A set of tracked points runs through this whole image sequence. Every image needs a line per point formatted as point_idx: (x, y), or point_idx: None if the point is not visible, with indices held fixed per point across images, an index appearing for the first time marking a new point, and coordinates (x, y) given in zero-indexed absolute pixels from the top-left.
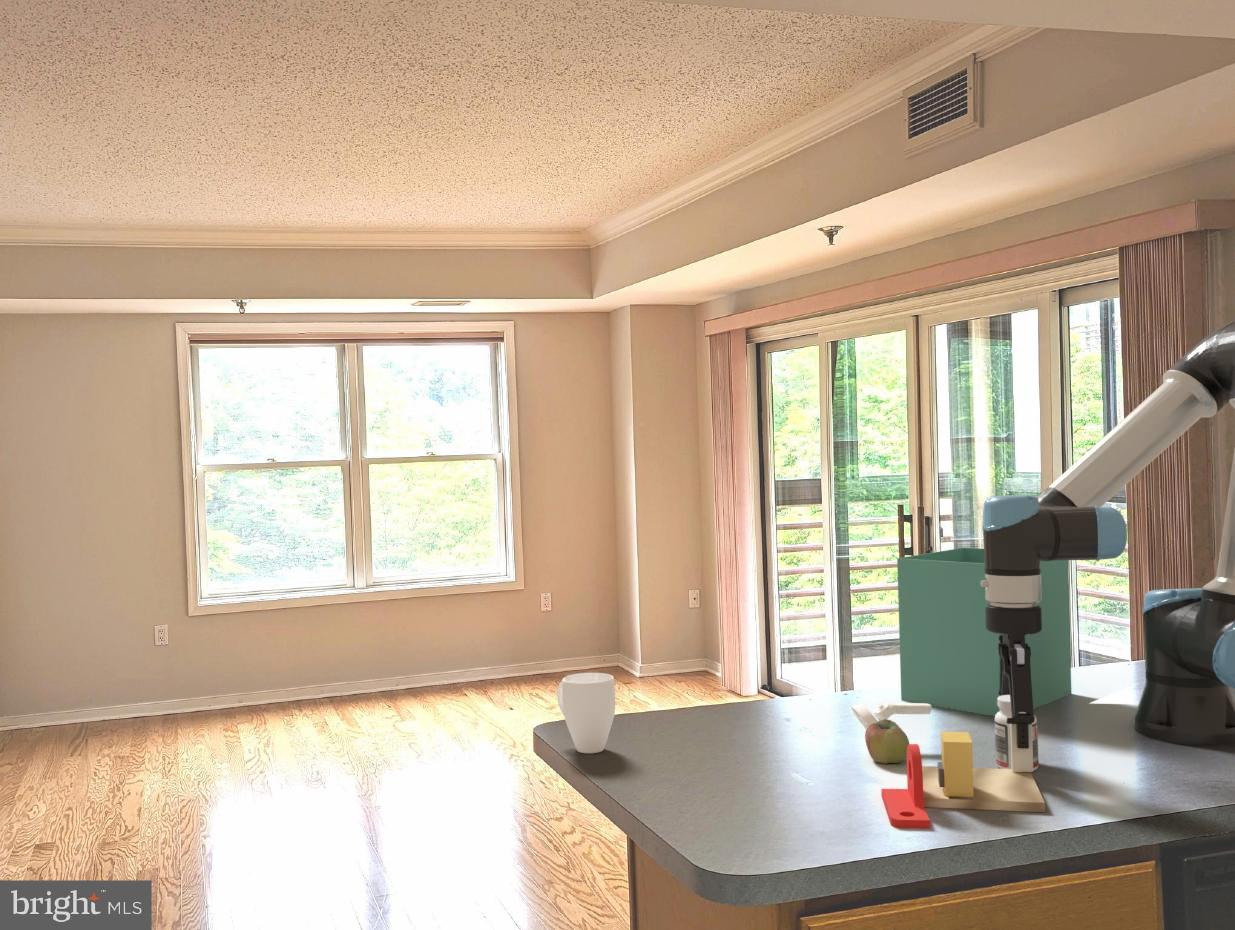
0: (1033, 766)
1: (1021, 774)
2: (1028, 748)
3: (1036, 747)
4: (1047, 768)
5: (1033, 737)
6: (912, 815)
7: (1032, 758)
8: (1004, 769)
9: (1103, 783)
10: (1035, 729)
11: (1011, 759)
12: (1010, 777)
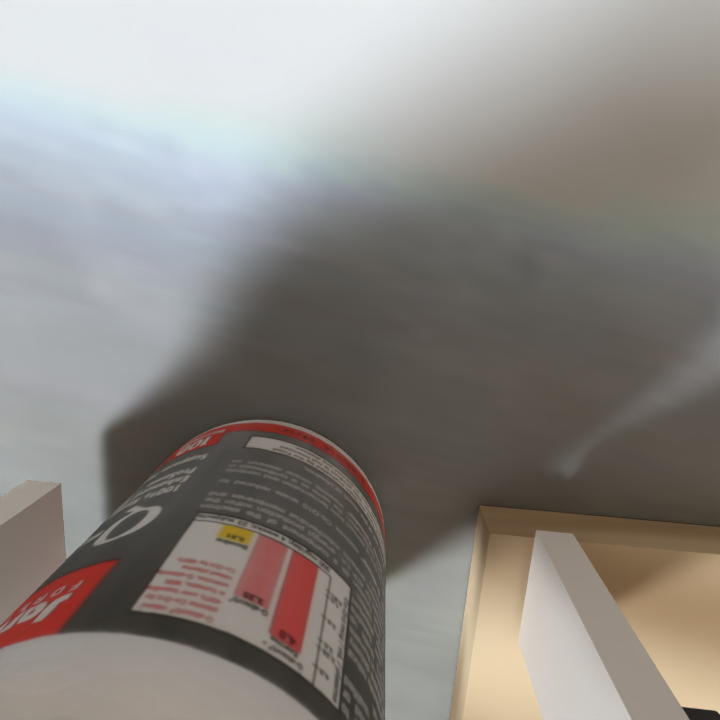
0: (357, 473)
1: None
2: (713, 712)
3: (305, 503)
4: (266, 359)
5: (329, 592)
6: None
7: (611, 595)
8: (481, 662)
9: (584, 76)
10: (279, 618)
11: (539, 696)
12: None
